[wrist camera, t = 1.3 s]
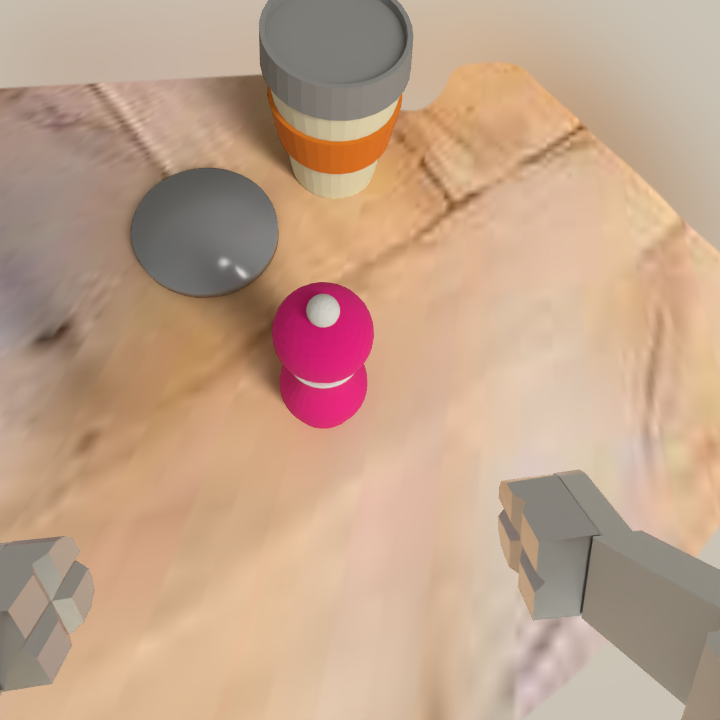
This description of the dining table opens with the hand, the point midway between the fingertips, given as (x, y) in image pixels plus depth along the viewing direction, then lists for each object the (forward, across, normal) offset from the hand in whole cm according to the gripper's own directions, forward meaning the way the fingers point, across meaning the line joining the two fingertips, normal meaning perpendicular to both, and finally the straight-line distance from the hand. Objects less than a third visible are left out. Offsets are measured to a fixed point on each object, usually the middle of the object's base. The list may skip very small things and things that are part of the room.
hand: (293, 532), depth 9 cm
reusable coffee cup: (+48, -2, -5) cm, 49 cm away
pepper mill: (+31, +1, +14) cm, 34 cm away
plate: (+42, +11, 0) cm, 43 cm away
